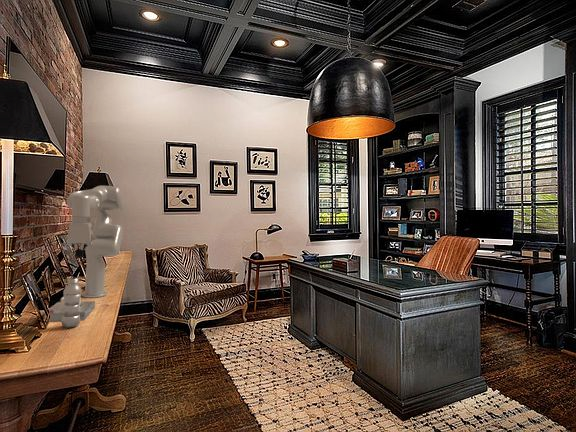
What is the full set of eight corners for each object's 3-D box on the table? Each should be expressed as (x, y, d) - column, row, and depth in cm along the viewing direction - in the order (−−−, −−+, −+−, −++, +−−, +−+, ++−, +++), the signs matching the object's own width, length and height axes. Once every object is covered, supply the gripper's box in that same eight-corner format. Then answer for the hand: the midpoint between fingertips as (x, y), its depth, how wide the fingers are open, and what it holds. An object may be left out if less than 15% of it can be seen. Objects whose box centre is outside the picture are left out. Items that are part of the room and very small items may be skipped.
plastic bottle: (57, 327, 146) (60, 278, 146) (74, 323, 152) (76, 276, 152) (67, 330, 143) (69, 280, 143) (83, 326, 149) (85, 278, 149)
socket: (57, 309, 171) (57, 301, 171) (94, 308, 176) (95, 300, 176) (42, 321, 152) (42, 312, 152) (84, 320, 157) (84, 311, 157)
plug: (67, 309, 169) (68, 293, 169) (81, 309, 171) (82, 293, 171) (59, 316, 159) (60, 298, 159) (75, 315, 161) (76, 298, 161)
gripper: (99, 220, 179) (98, 256, 180) (65, 219, 175) (64, 256, 175) (96, 221, 172) (94, 259, 173) (60, 220, 168) (59, 258, 168)
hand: (79, 257), depth 174 cm, fingers closed
